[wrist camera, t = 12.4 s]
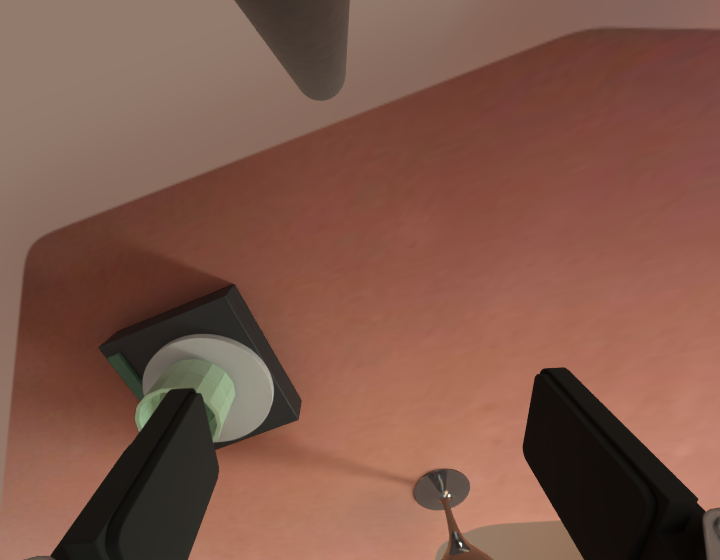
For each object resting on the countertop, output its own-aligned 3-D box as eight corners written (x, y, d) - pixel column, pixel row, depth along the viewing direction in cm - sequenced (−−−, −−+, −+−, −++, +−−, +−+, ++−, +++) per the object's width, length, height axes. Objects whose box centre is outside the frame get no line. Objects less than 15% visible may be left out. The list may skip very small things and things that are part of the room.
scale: (116, 331, 35) (91, 352, 32) (234, 283, 34) (222, 299, 30) (197, 438, 40) (183, 467, 37) (302, 400, 39) (298, 425, 36)
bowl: (153, 358, 32) (124, 391, 28) (229, 353, 32) (212, 385, 28) (171, 418, 34) (147, 457, 30) (241, 413, 35) (227, 451, 30)
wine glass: (462, 458, 43) (520, 608, 29) (480, 499, 46) (541, 655, 32) (401, 479, 44) (429, 635, 30) (423, 519, 47) (458, 679, 33)
